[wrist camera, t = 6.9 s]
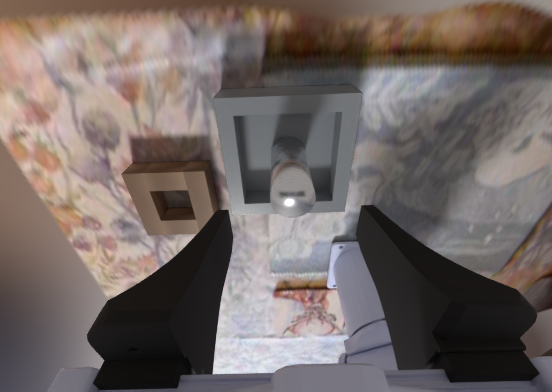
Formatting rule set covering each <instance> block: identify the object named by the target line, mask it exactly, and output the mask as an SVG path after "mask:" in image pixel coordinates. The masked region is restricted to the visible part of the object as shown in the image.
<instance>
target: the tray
mask: <svg viewBox="0 0 552 392" xmlns="http://www.w3.org/2000/svg"><path fill="white" fill-rule="evenodd" d="M362 94H363V93H362V92H361V91H360V90H358V89H357V88H356V87H354V86H353V85H352V84H339V85H314V86H288V87H262V88H236V89H220V90H219V92H218V93H217V94H216V95H215V96H214V98H213V103H214V109H215V114H216V120H217V126H218V132H219V138H220V144H221V150H222V156H223V162H224V168H225V173H226V179H227V185H228V191H229V197H230V203H231V209H232V215H257V214H278V213H277V212H276V211H275V210H274V209H273V208H272V206H271V203H270V183H271V149H272V146H273V144H274V143H275V142H276V141H277V140H278V139H279V138H282V137H285V136H291V137H295V138H297V139H298V140H299V141H300V142H301V143H302V144H303V147H304V150H305V154H306V158H307V162H308V166H309V170H310V175H311V179H312V183H313V187H314V191H315V195H316V201H315V204H314V206H313V208H312V209H311V210H310V211H309V212H308V213H319V212H345V206H346V199H347V193H348V186H349V180H350V173H351V166H352V160H353V153H354V147H355V140H356V134H357V127H358V120H359V114H360V107H361V101H362Z"/></svg>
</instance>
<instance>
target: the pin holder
mask: <svg viewBox="0 0 552 392" xmlns="http://www.w3.org/2000/svg"><path fill="white" fill-rule="evenodd" d="M122 177H123V179H124V181H125V184H126V186H127V188H128V190H129V193H130V195H131V197H132V200H133V202H134V204H135V206H136V209H137V211H138V213H139V215H140V218H141V220H142V222H143V225H144V227H145V229H146V231H147V234H148V235H175V234H198V232H199V231H200V230H201V229H202V228H203V227H204V225H205V224H206V223H207V222H208V220H209V219H210V218H211V217H212V215H213V214H214V213H215V212H216V211H217V210H219V206H218V201H217V196H216V192H215V187H214V182H213V177H212V172H211V167H210V162H209V161H185V162H156V163H132V164H131V165H130V166H129V167H128V168H127V169H126V170H125V171H124V172H123V173H122ZM173 190H188V193H189V196H190V200H191V203H192V207H193V208H168V207H167V204H166V201H165V198H164V195H163V192H162V191H173Z"/></svg>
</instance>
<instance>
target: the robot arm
mask: <svg viewBox="0 0 552 392" xmlns="http://www.w3.org/2000/svg"><path fill="white" fill-rule="evenodd" d="M356 236H357V240H358V241H354V242H334V243H333V244H332V246H331V253H330V261H329V269H328V277H327V287H328V288H337V291H338V295H339V300H340V304H341V308H342V312H343V316H344V320H345V325H346V329H347V333H348V337H349V339H347V340H344V345H345V349H346V353H343V354H341V355H340V357H339V362H338V364H298V365H290V366H285V367H283V368H281V369H278V370H276V372H275V373H253V374H212V373H213V362H214V352H215V342H216V333H217V325H218V317H219V310H220V302H221V296H222V291H223V287H224V283H225V279H226V275H227V270H228V266H229V262H230V258H231V253H232V245H233V233H232V228H231V222H230V216H229V211H228V210H217V211H216V212H215V213H214V214H213V215H212V217H211V218H210V219H209V220H208V222H207V223H206V224H205V225H204V227H203V228H202V229H201V230H200V231H199V232H198V234H197V235H196V236H195V237H194V238H193V239H192V240H191V241H190V242H189V243H188V244H187V245H186V246H185V247H184V248H183V249H182V250H181V251H180V252H179V253H178V254H177V255H176V256H175V257H174V258H172V259H171V260H170V261H169V262H168V263H166V264H165V265H164V266H162V267H161V268H160V269H158V270H157V271H156V272H154V273H153V274H152V275H150V276H149V277H147V278H146V279H144V280H143V281H141V282H139V283H138V284H136V285H135V286H133V287H131V288H130V289H128V290H126V291H124V292H123V293H121V294H119V295H117V296H116V297H114V298H112V299H110V300H108V301H107V303H106V304H105V306H104V307H103V309H102V310H101V312H100V313H99V315H98V317H97V318H96V320H95V322H94V324H93V325H92V327H91V329H90V330H89V332H88V334H87V339H88V342H89V343H90V345H91V346H92V347H93V348H94V349H95V351H96V352H97V353H98V354H99V355H100V356H101V357H102V358H103V359H104V360H105V361H104V362H103V364H102V366H101V368H100V370H99V369H97V368H92V367H76V368H63V369H61V370H60V372H59V373H58V375H57V376H56V378H55V380H54V381H53V383H52V385H51V386H50V388H49V389H48V391H47V392H552V357H536V358H533V359H530V360H529V358H528V357H527V356H526V355H525V353H524V352H523V351H525V350H526V346H525V345H524V344H523V342H522V341H521V340H520V337H521V336H522V335H523V334H524V333H525V332H526V331H527V330H528V329H529V328H530V327H531V326H532V325H533V324H534V323H535V321H536V318H537V312H536V310H535V309H534V308H533V306H532V305H531V304H530V303H529V302H528V301H527V300H526V299H525V298H524V297H523V296H522V295H521V293H520V292H519V291H518V290H517V289H514V288H512V287H509V286H506V285H504V284H501V283H499V282H496V281H494V280H491V279H489V278H486V277H484V276H482V275H479V274H477V273H475V272H473V271H471V270H468V269H466V268H464V267H462V266H460V265H458V264H456V263H454V262H453V261H451V260H449V259H447V258H445V257H443V256H442V255H440V254H438V253H436V252H435V251H433V250H432V249H430V248H428V247H427V246H425V245H424V244H422V243H421V242H419V241H418V240H416V239H415V238H414V237H412V236H411V235H409V234H408V233H407V232H405V231H404V230H403V229H401V228H400V227H399V226H398V225H396V224H395V223H394V222H393V221H392V220H390V219H389V218H388V217H387V216H386V215H384V214H383V213H382V212H381V211H380V210H379V209H377V208H376V207H375V206H374V205H362V206H361V211H360V216H359V221H358V226H357V231H356Z"/></svg>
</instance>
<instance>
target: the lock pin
mask: <svg viewBox="0 0 552 392" xmlns="http://www.w3.org/2000/svg"><path fill="white" fill-rule="evenodd" d="M315 201H316V195H315V191H314V187H313V183H312V179H311V175H310V170H309V166H308V162H307V158H306V154H305V150H304V147H303V144H302V143H301V142H300V141H299V140H298V139H297V138H295V137H291V136H285V137H282V138H279V139H278V140H277V141H276V142H275V143H274V144H273V146H272V149H271V183H270V203H271V206H272V208H273V209H274V210H275V211H276V212H277V213H278V214H280V215H282V216H285V217H299V216H302V215H304V214H306V213H308V212H309V211H310V210H311V209H312V208H313V206H314V204H315Z"/></svg>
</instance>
